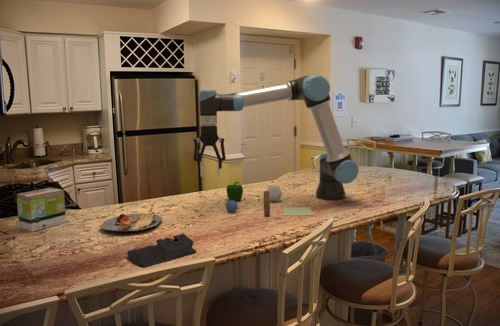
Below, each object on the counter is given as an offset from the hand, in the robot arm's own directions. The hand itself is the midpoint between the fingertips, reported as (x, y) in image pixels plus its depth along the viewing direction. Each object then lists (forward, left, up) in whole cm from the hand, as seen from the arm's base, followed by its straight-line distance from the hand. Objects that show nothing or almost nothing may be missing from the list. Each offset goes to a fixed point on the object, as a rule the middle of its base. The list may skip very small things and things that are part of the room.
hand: (210, 175), depth 182 cm
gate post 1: (-26, -6, -17) cm, 31 cm away
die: (-30, -20, -17) cm, 40 cm away
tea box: (+68, +18, -17) cm, 73 cm away
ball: (-10, 0, -14) cm, 17 cm away
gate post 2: (-26, +6, -17) cm, 31 cm away
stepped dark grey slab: (+11, +49, -18) cm, 54 cm away
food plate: (+30, +19, -18) cm, 40 cm away
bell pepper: (-10, -21, -17) cm, 29 cm away
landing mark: (-40, 0, -17) cm, 43 cm away
